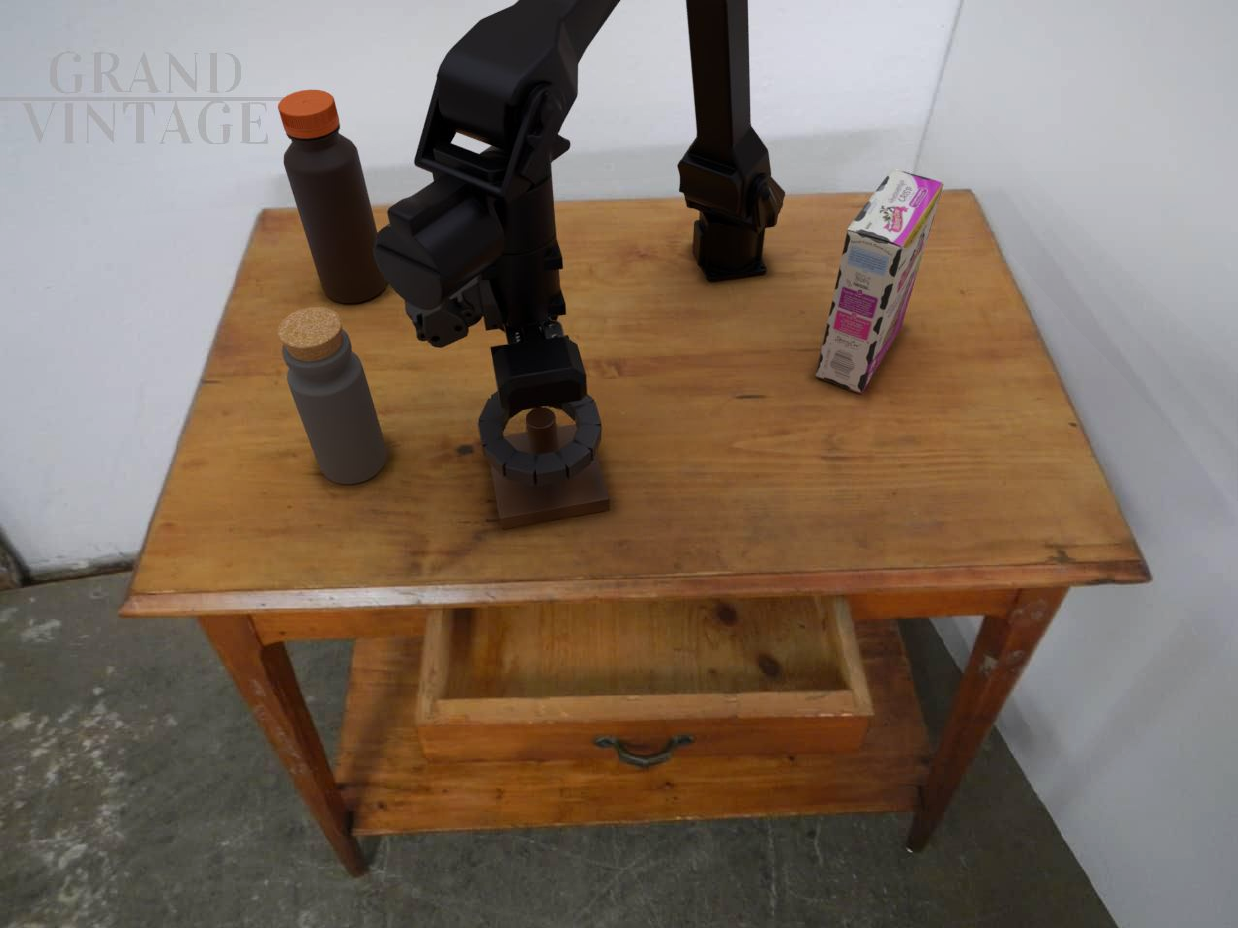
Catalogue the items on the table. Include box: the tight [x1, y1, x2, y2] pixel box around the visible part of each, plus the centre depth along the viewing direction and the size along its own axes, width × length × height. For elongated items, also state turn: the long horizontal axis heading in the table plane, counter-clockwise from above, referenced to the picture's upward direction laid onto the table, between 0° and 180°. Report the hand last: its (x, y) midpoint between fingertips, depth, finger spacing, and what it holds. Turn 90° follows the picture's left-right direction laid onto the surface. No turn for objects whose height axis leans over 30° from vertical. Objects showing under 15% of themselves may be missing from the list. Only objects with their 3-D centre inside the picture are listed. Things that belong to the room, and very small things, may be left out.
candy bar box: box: [815, 168, 945, 394], centre depth 84 cm, size 11×5×16 cm, turn 150°
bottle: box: [277, 306, 388, 485], centre depth 76 cm, size 6×6×15 cm
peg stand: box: [490, 406, 611, 530], centre depth 77 cm, size 9×9×8 cm
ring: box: [477, 390, 603, 487], centre depth 75 cm, size 10×10×2 cm
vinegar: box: [277, 89, 388, 304], centre depth 90 cm, size 7×7×20 cm
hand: (533, 391), depth 77 cm, fingers closed on ring, 2 cm apart
